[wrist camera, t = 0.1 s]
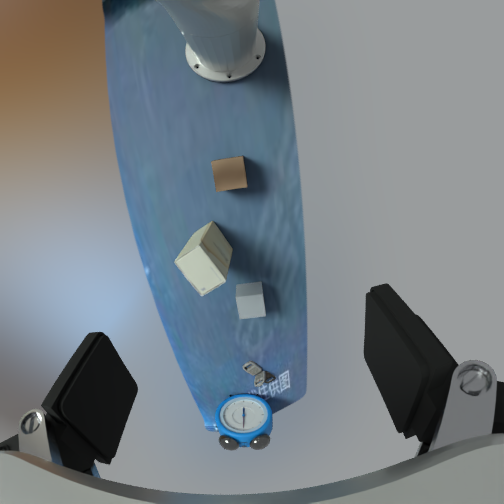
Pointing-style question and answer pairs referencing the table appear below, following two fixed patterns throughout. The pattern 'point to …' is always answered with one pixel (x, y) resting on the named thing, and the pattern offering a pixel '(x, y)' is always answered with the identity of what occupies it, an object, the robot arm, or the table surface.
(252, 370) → the strap clip
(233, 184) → the walnut block
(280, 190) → the table surface
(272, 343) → the table surface
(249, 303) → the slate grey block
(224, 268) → the skincare box
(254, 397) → the alarm clock
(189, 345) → the table surface
